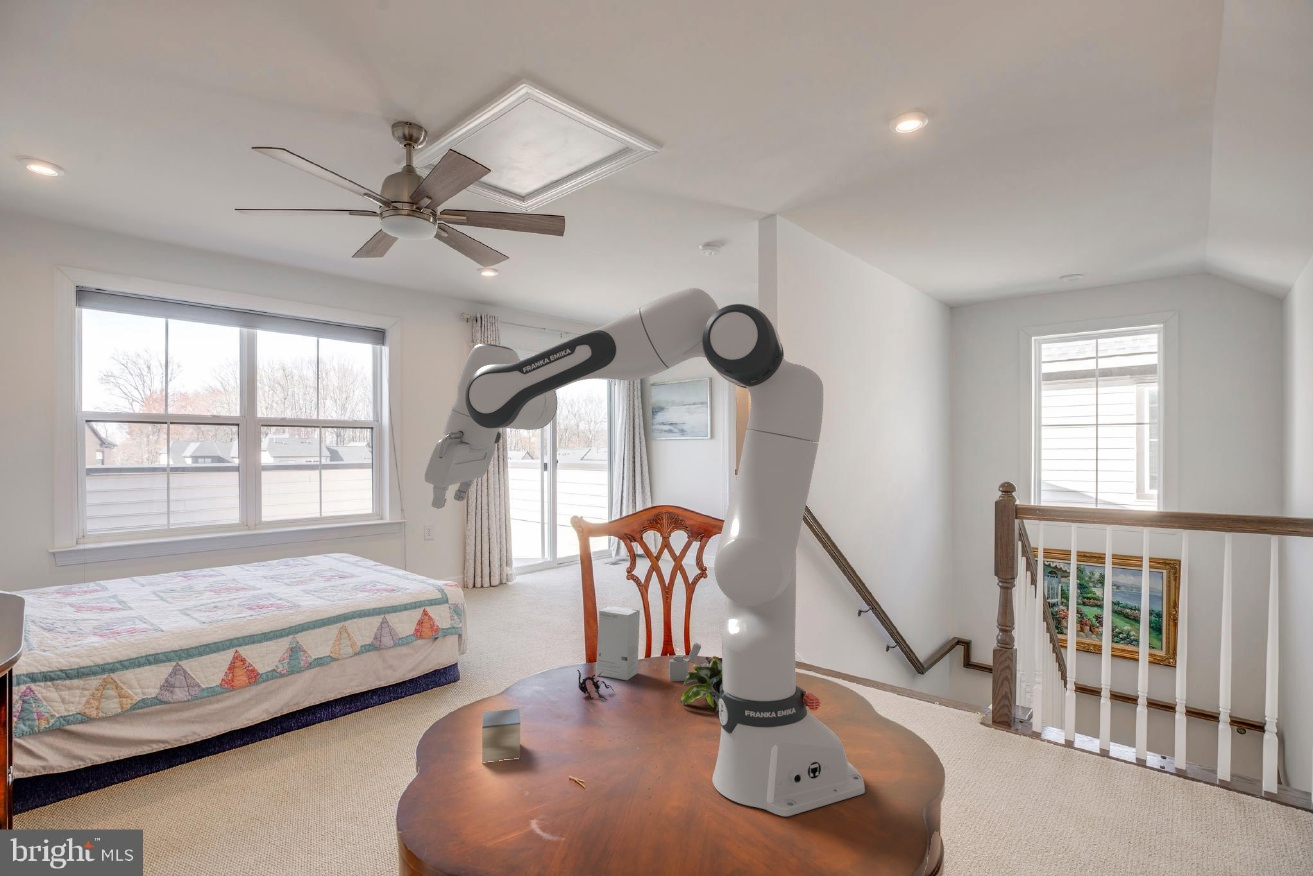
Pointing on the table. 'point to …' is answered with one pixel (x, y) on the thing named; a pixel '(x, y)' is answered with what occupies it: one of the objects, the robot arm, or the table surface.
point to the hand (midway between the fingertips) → (448, 503)
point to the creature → (595, 684)
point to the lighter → (682, 664)
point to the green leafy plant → (704, 682)
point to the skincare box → (618, 642)
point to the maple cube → (501, 735)
